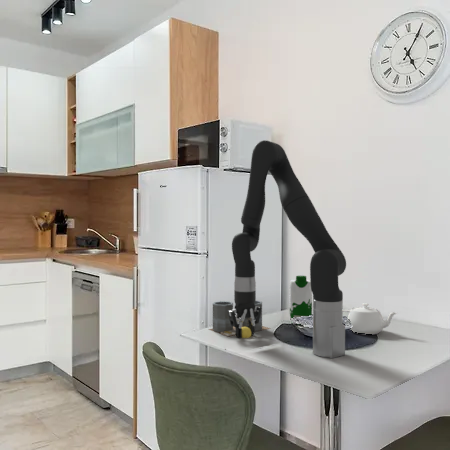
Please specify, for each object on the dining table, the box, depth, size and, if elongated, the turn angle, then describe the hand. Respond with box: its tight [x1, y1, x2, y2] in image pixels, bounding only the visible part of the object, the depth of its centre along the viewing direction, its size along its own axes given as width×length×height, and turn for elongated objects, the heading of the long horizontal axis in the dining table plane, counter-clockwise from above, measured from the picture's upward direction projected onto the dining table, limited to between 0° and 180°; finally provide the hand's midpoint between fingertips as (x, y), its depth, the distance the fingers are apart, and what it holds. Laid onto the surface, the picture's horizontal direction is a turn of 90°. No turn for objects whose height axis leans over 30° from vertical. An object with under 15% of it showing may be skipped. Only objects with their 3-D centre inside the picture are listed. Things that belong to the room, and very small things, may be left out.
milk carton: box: [289, 275, 313, 319], centre depth 188 cm, size 9×9×20 cm
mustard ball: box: [241, 327, 252, 339], centre depth 167 cm, size 5×5×5 cm
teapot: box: [343, 302, 398, 335], centre depth 178 cm, size 22×14×11 cm, turn 59°
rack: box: [208, 300, 272, 338], centre depth 178 cm, size 13×20×11 cm, turn 126°
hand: (244, 336), depth 167 cm, fingers closed on mustard ball, 4 cm apart
